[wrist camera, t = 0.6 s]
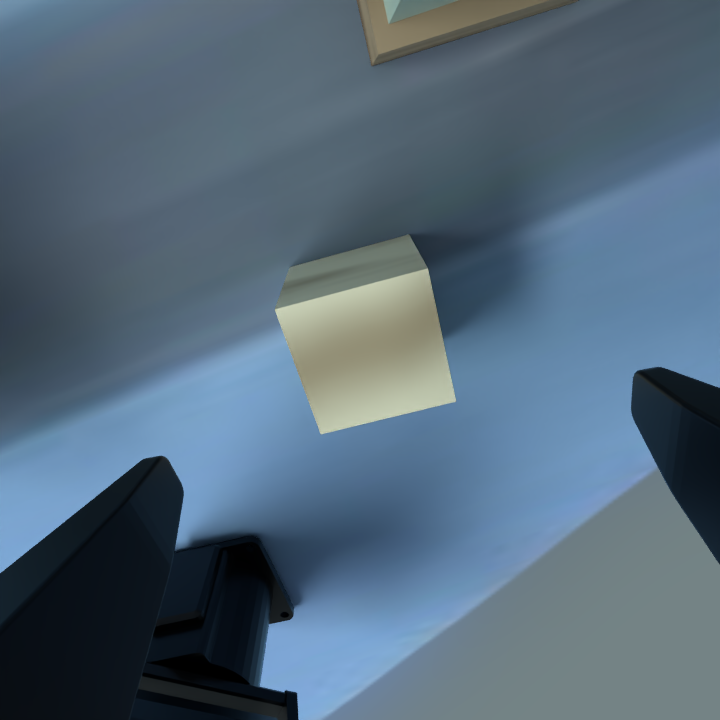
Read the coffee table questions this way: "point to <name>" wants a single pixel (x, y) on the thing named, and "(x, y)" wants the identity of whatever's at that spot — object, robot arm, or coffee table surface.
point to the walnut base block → (440, 24)
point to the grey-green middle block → (410, 8)
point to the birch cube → (365, 334)
